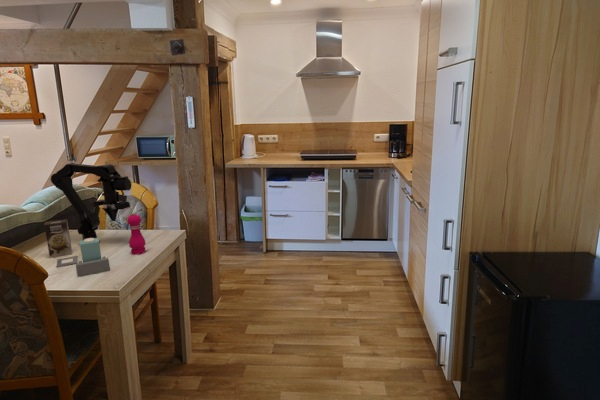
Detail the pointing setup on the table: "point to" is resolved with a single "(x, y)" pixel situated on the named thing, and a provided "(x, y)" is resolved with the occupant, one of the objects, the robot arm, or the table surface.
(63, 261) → the card
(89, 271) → the gray support stand
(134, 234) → the pepper mill
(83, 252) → the teal tall block
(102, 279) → the table surface
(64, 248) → the cookie box
